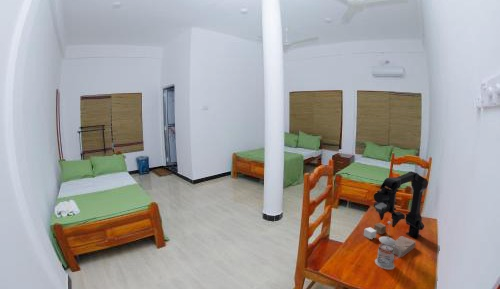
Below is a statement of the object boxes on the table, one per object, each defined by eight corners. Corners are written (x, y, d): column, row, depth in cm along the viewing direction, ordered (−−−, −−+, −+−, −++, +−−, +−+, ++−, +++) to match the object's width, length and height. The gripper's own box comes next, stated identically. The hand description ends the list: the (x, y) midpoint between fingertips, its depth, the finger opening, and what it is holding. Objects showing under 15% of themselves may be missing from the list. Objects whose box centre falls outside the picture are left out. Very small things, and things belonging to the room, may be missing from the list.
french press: (377, 255, 149) (381, 215, 144) (400, 264, 142) (405, 221, 137) (372, 264, 142) (377, 222, 137) (396, 273, 134) (402, 229, 129)
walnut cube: (378, 229, 178) (379, 222, 177) (385, 232, 174) (386, 225, 173) (373, 231, 176) (374, 224, 175) (380, 234, 171) (381, 227, 170)
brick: (401, 258, 147) (403, 250, 146) (387, 250, 154) (388, 243, 153) (415, 248, 157) (416, 241, 156) (400, 241, 164) (401, 235, 163)
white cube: (369, 234, 172) (369, 227, 171) (375, 237, 168) (376, 230, 167) (363, 235, 170) (364, 228, 169) (370, 239, 165) (371, 232, 164)
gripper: (367, 194, 161) (365, 218, 164) (390, 207, 144) (388, 233, 147) (382, 192, 164) (380, 215, 167) (407, 205, 146) (404, 230, 150)
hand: (387, 223), depth 158 cm, fingers open, 9 cm apart
